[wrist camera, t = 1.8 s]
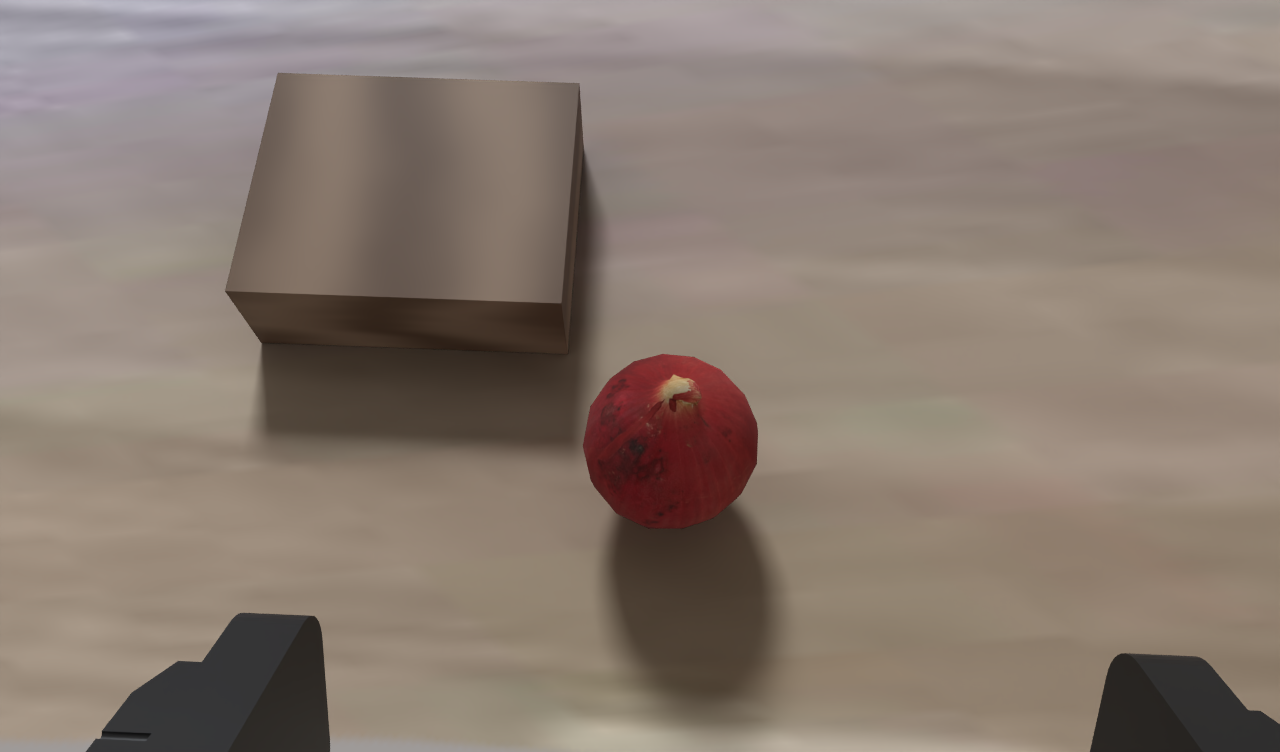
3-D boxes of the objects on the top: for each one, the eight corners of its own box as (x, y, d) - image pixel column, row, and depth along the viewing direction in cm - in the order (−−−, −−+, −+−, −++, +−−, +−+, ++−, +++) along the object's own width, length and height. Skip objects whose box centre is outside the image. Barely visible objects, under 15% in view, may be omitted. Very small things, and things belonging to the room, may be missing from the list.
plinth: (583, 146, 45) (579, 83, 41) (567, 353, 41) (561, 303, 37) (306, 137, 45) (277, 72, 41) (261, 342, 41) (225, 291, 37)
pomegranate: (657, 588, 37) (663, 519, 29) (556, 470, 39) (539, 377, 31) (777, 488, 38) (811, 398, 31) (675, 379, 40) (685, 271, 33)
